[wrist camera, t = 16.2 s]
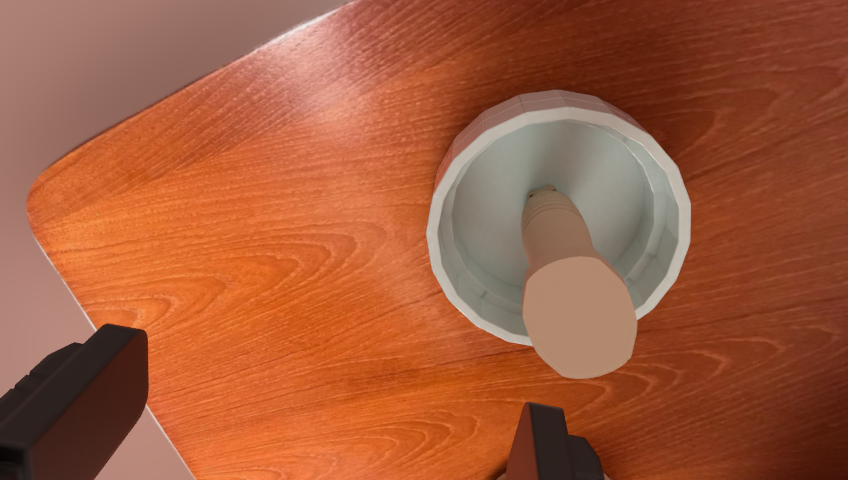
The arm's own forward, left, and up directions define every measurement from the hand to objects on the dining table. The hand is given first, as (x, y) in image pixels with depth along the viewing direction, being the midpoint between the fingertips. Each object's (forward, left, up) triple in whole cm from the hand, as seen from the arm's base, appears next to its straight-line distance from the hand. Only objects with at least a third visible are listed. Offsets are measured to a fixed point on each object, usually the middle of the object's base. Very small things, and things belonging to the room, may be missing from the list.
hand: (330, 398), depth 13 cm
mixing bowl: (+5, +9, -30) cm, 32 cm away
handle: (+5, +9, -30) cm, 31 cm away
